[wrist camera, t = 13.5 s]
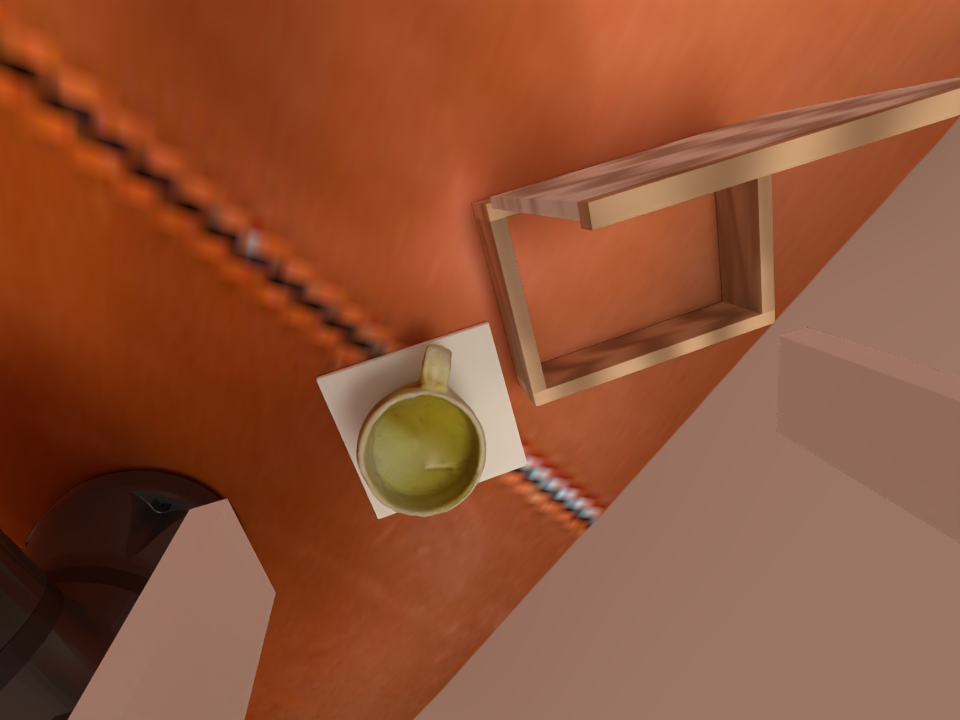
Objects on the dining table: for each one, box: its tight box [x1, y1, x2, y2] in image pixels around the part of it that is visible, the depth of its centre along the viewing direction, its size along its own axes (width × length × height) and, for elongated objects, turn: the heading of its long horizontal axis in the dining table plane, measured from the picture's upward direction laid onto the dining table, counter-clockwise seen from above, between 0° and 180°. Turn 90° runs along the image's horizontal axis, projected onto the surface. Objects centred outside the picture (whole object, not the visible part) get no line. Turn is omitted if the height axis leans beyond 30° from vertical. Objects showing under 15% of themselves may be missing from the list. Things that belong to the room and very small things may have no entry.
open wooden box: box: [472, 77, 960, 407], centre depth 31 cm, size 22×17×22 cm
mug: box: [356, 344, 486, 517], centre depth 37 cm, size 12×10×10 cm
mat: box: [316, 321, 527, 519], centre depth 43 cm, size 15×15×1 cm
